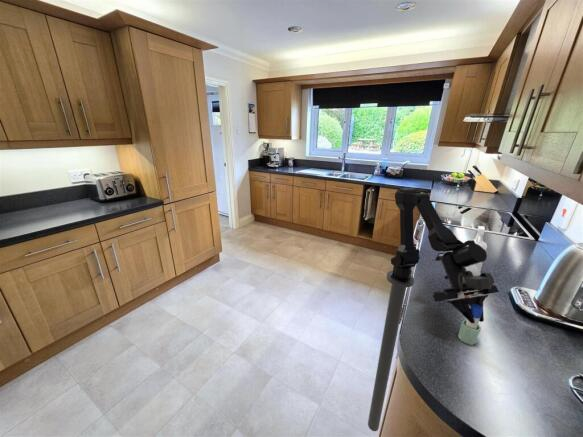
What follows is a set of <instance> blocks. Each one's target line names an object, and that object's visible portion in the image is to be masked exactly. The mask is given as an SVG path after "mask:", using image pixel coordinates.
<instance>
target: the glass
mask: <svg viewBox="0 0 583 437" xmlns="http://www.w3.org/2000/svg"><path fill="white" fill-rule="evenodd" d="M466 321H467V318H465V319H463V320H462V321H461V325H460V326H459V327H460V328H459V331H458V333H457V334H458V335H457V337H458V338H459V340H460V341H461V342H463V343H465V344H466V345H470V346H471V345H472V346H474V345H476V344H477V342H478V338H479V335H480V332H481V330H482V327H481V326H480V325H479V324H480V323H478V326H477V329H476V330H474V329H471V328H469V327H467V326H466V325H465V324H466Z"/></svg>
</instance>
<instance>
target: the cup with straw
mask: <svg viewBox="0 0 583 437" xmlns="http://www.w3.org/2000/svg"><path fill="white" fill-rule="evenodd" d="M465 268H466V270H467V271H471V272H472V274H473V276H480V274H481V273H482V272H481V271H479V269H478V268H477V267H476V266H475V265H471V266H468V267H465ZM468 291H469V290H468ZM460 292H462V291H460ZM465 298H469V297H468V295H465Z"/></svg>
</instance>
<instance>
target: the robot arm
mask: <svg viewBox="0 0 583 437" xmlns="http://www.w3.org/2000/svg"><path fill="white" fill-rule="evenodd" d="M394 201H395V205H396V207H397V208H398V210H399V223H400V224H399V230H400V231H399V233H400V234H399V236H400V238H399V240H400V244H399V246H398V247H397V249H396V254H395V256H393V257H391V258H390V264H391V265H392V266H393V268H392V271H393V273H392V275H390V277H392V278H394V279H396V280H398V281H400V282H402V283H405V282H406V281H408V280H409V279H410V278H411V276H412V272H413V271H412V268H415V267H416V265H417V264H418V263H419V261H420V260H421V257H420V249H418V248H417V247H416V246H415V243H414V242H415V241H414V240H415V239H414V209H415V208H417V210H418V212H419V214H420V216H421V218H422V220H423V222H424V224H425V226H426V228H427V230H428V235H427V239H428V242H429V244H430V247H431V249H432V250H433V251H436V252H437V256H436V257H435V259H434V260H435V261H436V262H439V261H440V262H441V264H442V267H443V269H444V272H445V274H446V275H444V276H443V277H444V279H445V280H448V282H449V284H450V287H451V288H448V289H447V288H446V289H442V290H438V291H434V292H433V295H432V297H433V300H434V302H435V303H436V302H444V301H446V300H447V303H448V304H449V303H450V304H451V305H452V306H453V307H454V308H456V310H458V312H459V313H461V314H462V315H463V316H464V317H465V319H468V320H469V321H470V322H471V323H475V321H474V318H473V315H472V312H471V310H470V307H471V305H472V304H477V305H479V306H481V307H482V308H483V309H484V301H485V299H486V298H488V297H489V295H490V294H495V293H499V289H498V287H497V285H495V278H494V277H493V276H492V274H491V272H480V273H481V274H480V276H473V274H472V272H471V271H467V270H466V268H465V267H468V266H471V265H474V264H477V263H480V262H483V263H484V262H485V261H486V260H487V258H488V254H487V250H486V251H485V250H484V249H483V248H482V247H481V246H480V245H478V244H475V242H474V240H473V239H468V240H466V241H461V240H460V239H458V237H457V236H456V235H455V234H454V232H453V231H452V229H450V228H449V227H447V226H446V225H444V223H443V222H442V219H441V217H440V216H439V214H438V212H437V210H436V208H435V206H434V205H433V203H432V201H431V197H430V194H428V193H426V192H423V191H417V190H416V189H415V188H411V187H410V188H399V189H397V190H396V191H395V193H394ZM468 290H469V291H468ZM460 291H462V292H460ZM465 295H468V297H469V298H465ZM484 318H485V316H484V311H483V312H482V315H481V318H480V320H479V322H480V323H482V322H484V320H485V319H484Z"/></svg>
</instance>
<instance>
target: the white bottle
mask: <svg viewBox="0 0 583 437" xmlns="http://www.w3.org/2000/svg"><path fill="white" fill-rule="evenodd" d="M485 231H486V227H485V226H483V225H478V226H477V233H476V235H475V237H474V239H473V238H472V240H474V242H475V244H478V245H480V246H481V247H482V248H483V249H484V250H485V251H486V252H487V249H488V244H487V242H485V241H484V235H485ZM483 263H484V261H483V262H480V263H477V264H474V265H475V266H476V267H477V268H478V269H479V271H480V272H481V270H482V268H483Z"/></svg>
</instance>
